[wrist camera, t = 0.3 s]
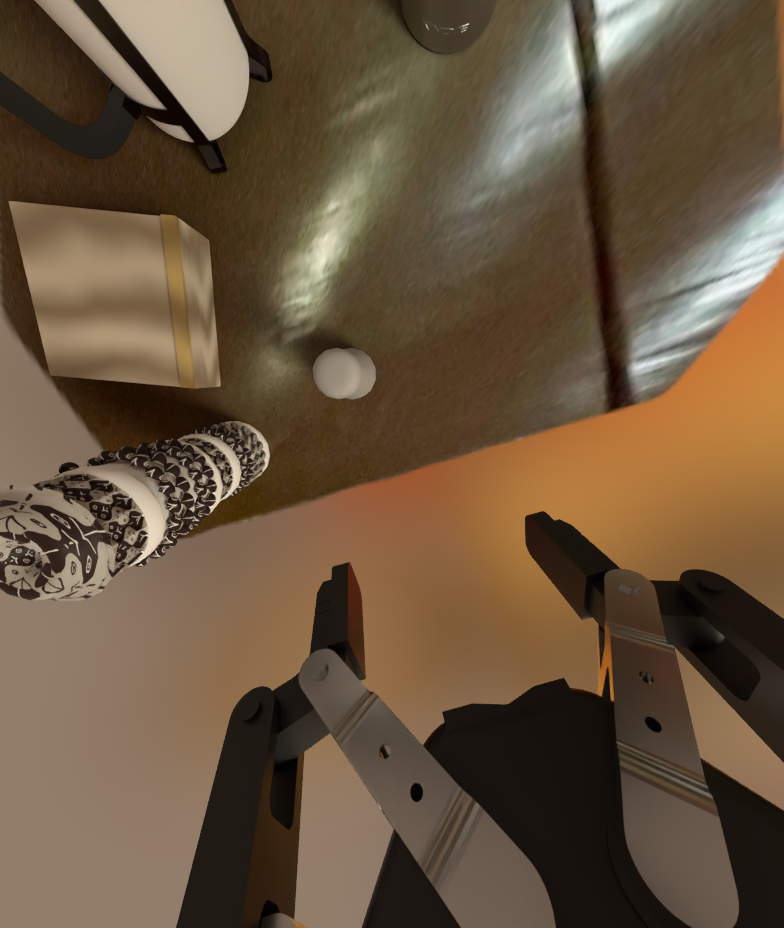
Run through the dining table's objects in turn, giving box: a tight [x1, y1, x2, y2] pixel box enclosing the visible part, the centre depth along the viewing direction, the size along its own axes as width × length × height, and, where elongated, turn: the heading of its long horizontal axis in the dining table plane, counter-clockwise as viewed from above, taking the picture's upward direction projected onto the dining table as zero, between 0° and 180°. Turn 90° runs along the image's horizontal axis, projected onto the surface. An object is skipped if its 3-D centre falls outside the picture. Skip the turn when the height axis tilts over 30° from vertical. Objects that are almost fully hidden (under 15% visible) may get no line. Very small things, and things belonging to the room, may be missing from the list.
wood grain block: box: [9, 201, 221, 388], centre depth 33 cm, size 16×16×5 cm
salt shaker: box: [313, 348, 376, 399], centre depth 31 cm, size 6×6×13 cm
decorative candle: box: [0, 421, 270, 601], centre depth 29 cm, size 9×9×25 cm
